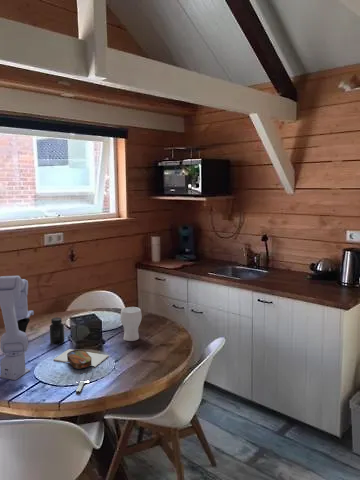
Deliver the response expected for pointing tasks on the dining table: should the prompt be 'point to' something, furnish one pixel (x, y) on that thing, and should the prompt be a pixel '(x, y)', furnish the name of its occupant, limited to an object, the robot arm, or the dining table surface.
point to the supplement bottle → (56, 331)
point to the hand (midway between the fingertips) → (22, 335)
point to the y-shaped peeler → (81, 386)
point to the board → (95, 357)
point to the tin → (79, 359)
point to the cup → (131, 322)
